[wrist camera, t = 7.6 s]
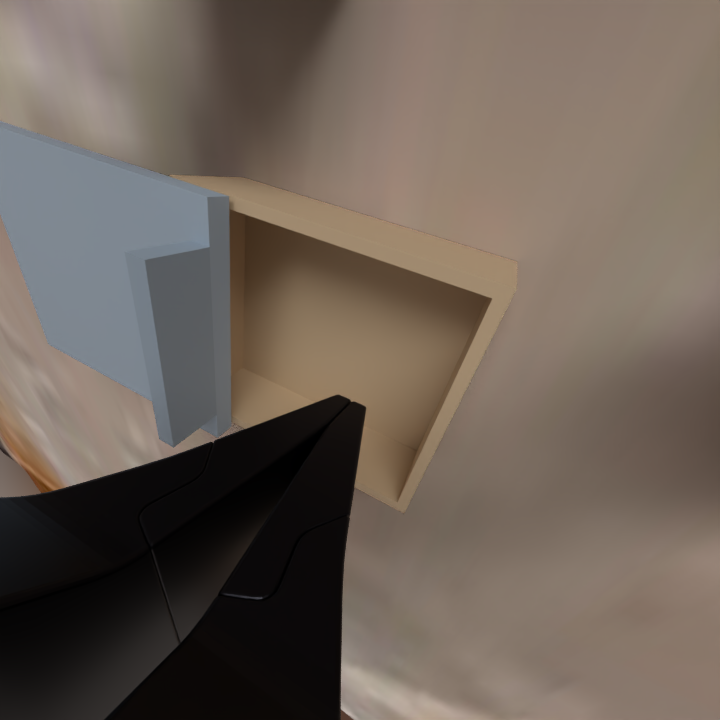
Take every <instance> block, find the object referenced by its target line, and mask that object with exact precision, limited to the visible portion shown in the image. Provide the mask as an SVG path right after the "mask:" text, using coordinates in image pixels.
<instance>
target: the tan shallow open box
mask: <svg viewBox="0 0 720 720" xmlns="http://www.w3.org/2000/svg"><path fill="white" fill-rule="evenodd" d="M169 176H170V177H172V178H175V179H178V180H181V181H184V182H187V183H190V184H193V185H196V186H199V187H202V188H206V189H209V190H212V191H215V192H218V193H221V194H224V195H227V196H229V239H230V340H231V422H232V423H234V424H236V425H238V426H240V427H242V428H244V429H246V428H249V427H252V426H254V425H257V424H260V423H262V422H265V421H268V420H270V419H273V418H276V417H278V416H281V415H283V414H286V413H289V412H291V411H294V410H297V409H299V408H302V407H305V406H307V405H310V404H313V403H315V402H318V401H321V400H323V399H326V398H329V397H331V396H334V395H341V396H344V397H346V398H348V399H350V400H351V402H352V401H355V402H357V403H360V404H362V405H364V406H366V415H365V421H364V428H363V434H362V441H361V447H360V454H359V460H358V467H357V474H356V480H355V488H357V489H359V490H360V491H362V492H364V493H366V494H368V495H370V496H372V497H374V498H375V499H377V500H379V501H381V502H383V503H385V504H387V505H389V506H391V507H392V508H394V509H396V510H398V511H400V512H402V513H405V511H406V509H407V507H408V505H409V503H410V501H411V499H412V497H413V495H414V493H415V491H416V489H417V487H418V485H419V483H420V481H421V479H422V477H423V475H424V473H425V471H426V469H427V467H428V465H429V463H430V461H431V459H432V457H433V455H434V453H435V451H436V449H437V447H438V445H439V443H440V441H441V439H442V437H443V435H444V433H445V431H446V429H447V427H448V425H449V423H450V421H451V419H452V417H453V415H454V413H455V411H456V409H457V407H458V405H459V403H460V401H461V399H462V397H463V395H464V393H465V391H466V389H467V387H468V385H469V383H470V381H471V379H472V377H473V375H474V373H475V371H476V369H477V367H478V365H479V363H480V361H481V359H482V357H483V355H484V353H485V351H486V349H487V347H488V345H489V343H490V341H491V339H492V337H493V335H494V333H495V331H496V329H497V327H498V325H499V323H500V321H501V319H502V317H503V315H504V313H505V311H506V309H507V307H508V305H509V303H510V301H511V299H512V297H513V295H514V293H515V291H516V289H517V262H516V261H513V260H510V259H507V258H503V257H500V256H497V255H494V254H490V253H487V252H484V251H481V250H477V249H474V248H471V247H468V246H464V245H461V244H458V243H455V242H451V241H448V240H445V239H442V238H438V237H435V236H432V235H429V234H425V233H422V232H419V231H416V230H412V229H409V228H406V227H403V226H399V225H396V224H393V223H390V222H386V221H383V220H380V219H377V218H373V217H370V216H367V215H364V214H360V213H357V212H354V211H351V210H348V209H344V208H341V207H338V206H335V205H331V204H328V203H325V202H322V201H318V200H315V199H312V198H309V197H305V196H302V195H299V194H296V193H292V192H289V191H286V190H283V189H279V188H276V187H273V186H270V185H266V184H263V183H260V182H257V181H253V180H250V179H247V178H244V177H215V176H186V175H169Z"/></svg>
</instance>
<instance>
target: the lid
mask: <svg viewBox="0 0 720 720" xmlns="http://www.w3.org/2000/svg"><path fill="white" fill-rule="evenodd" d="M0 215H1V217H2V220H3V223H4V225H5V228H6V231H7V234H8V236H9V239H10V242H11V244H12V247H13V250H14V252H15V255H16V258H17V261H18V263H19V266H20V269H21V271H22V274H23V277H24V279H25V282H26V285H27V288H28V290H29V293H30V296H31V298H32V301H33V304H34V307H35V309H36V312H37V315H38V317H39V320H40V323H41V325H42V328H43V331H44V334H45V336H46V339H47V342H48V344H49V345H51V346H53V347H54V348H56V349H58V350H60V351H62V352H63V353H65V354H67V355H69V356H71V357H73V358H74V359H76V360H78V361H80V362H82V363H83V364H85V365H87V366H89V367H91V368H92V369H94V370H96V371H98V372H100V373H101V374H103V375H105V376H107V377H109V378H111V379H112V380H114V381H116V382H118V383H120V384H121V385H123V386H125V387H127V388H129V389H130V390H132V391H134V392H136V393H138V394H140V395H141V396H143V397H145V398H147V399H149V400H150V401H152V403H153V408H154V413H155V419H156V424H157V430H158V435H159V439H160V440H162V441H163V442H165V443H167V444H169V445H170V446H172V447H175V446H176V445H177V444H179V443H180V442H181V441H183V440H184V439H185V438H187V437H188V436H189V435H191V434H192V433H193V432H195V431H196V430H197V429H199V428H201V429H203V430H205V431H207V432H208V433H210V434H212V435H214V436H216V437H217V438H218V437H219V436H220V435H222V434H223V433H224V432H225V431H226V430H228V429H229V428H230V427H231V340H230V239H229V196H227V195H224V194H221V193H218V192H215V191H212V190H209V189H206V188H202V187H199V186H196V185H193V184H190V183H187V182H184V181H181V180H178V179H175V178H172V177H169V176H166V175H163V174H160V173H157V172H154V171H151V170H148V169H145V168H142V167H139V166H136V165H132V164H129V163H126V162H123V161H120V160H117V159H114V158H111V157H108V156H105V155H102V154H99V153H96V152H93V151H90V150H87V149H84V148H81V147H78V146H75V145H72V144H69V143H66V142H63V141H59V140H56V139H53V138H50V137H47V136H44V135H41V134H38V133H35V132H32V131H29V130H26V129H23V128H20V127H17V126H14V125H11V124H8V123H5V122H2V121H0Z"/></svg>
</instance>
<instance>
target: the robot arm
mask: <svg viewBox="0 0 720 720" xmlns="http://www.w3.org/2000/svg"><path fill="white" fill-rule="evenodd" d="M365 415H366V406H364V405H362V404H360V403H357V402H355V401H352V402H351V400H350V399H348V398H346V397H344V396H341V395H334V396H331V397H329V398H326V399H323V400H321V401H318V402H315V403H313V404H310V405H307V406H305V407H302V408H299V409H297V410H294V411H291V412H289V413H286V414H283V415H281V416H278V417H276V418H273V419H270V420H268V421H265V422H262V423H260V424H257V425H254V426H252V427H249V428H246V429H244V430H241V431H238V432H236V433H233V434H230V435H228V436H225V437H223V438H220V439H217V440H215V441H214V443H213V442H209V443H206V444H204V445H201V446H198V447H196V448H193V449H190V450H187V451H184V452H182V453H179V454H176V455H173V456H170V457H167V458H164V459H161V460H158V461H154V462H151V463H148V464H145V465H142V466H138V467H135V468H131V469H128V470H125V471H121V472H118V473H114V474H111V475H107V476H104V477H100V478H97V479H94V480H90V481H87V482H83V483H80V484H76V485H73V486H69V487H66V488H62V489H58V490H55V491H51V492H46V493H41V494H36V495H29V496H21V497H6V498H5V497H4V498H3V497H1V498H0V720H341V712H340V711H341V646H342V595H343V574H344V559H345V550H346V541H347V533H348V527H349V520H350V518H349V517H350V513H351V506H352V500H353V493H354V487H355V480H356V474H357V467H358V460H359V454H360V447H361V441H362V434H363V428H364V421H365Z"/></svg>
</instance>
